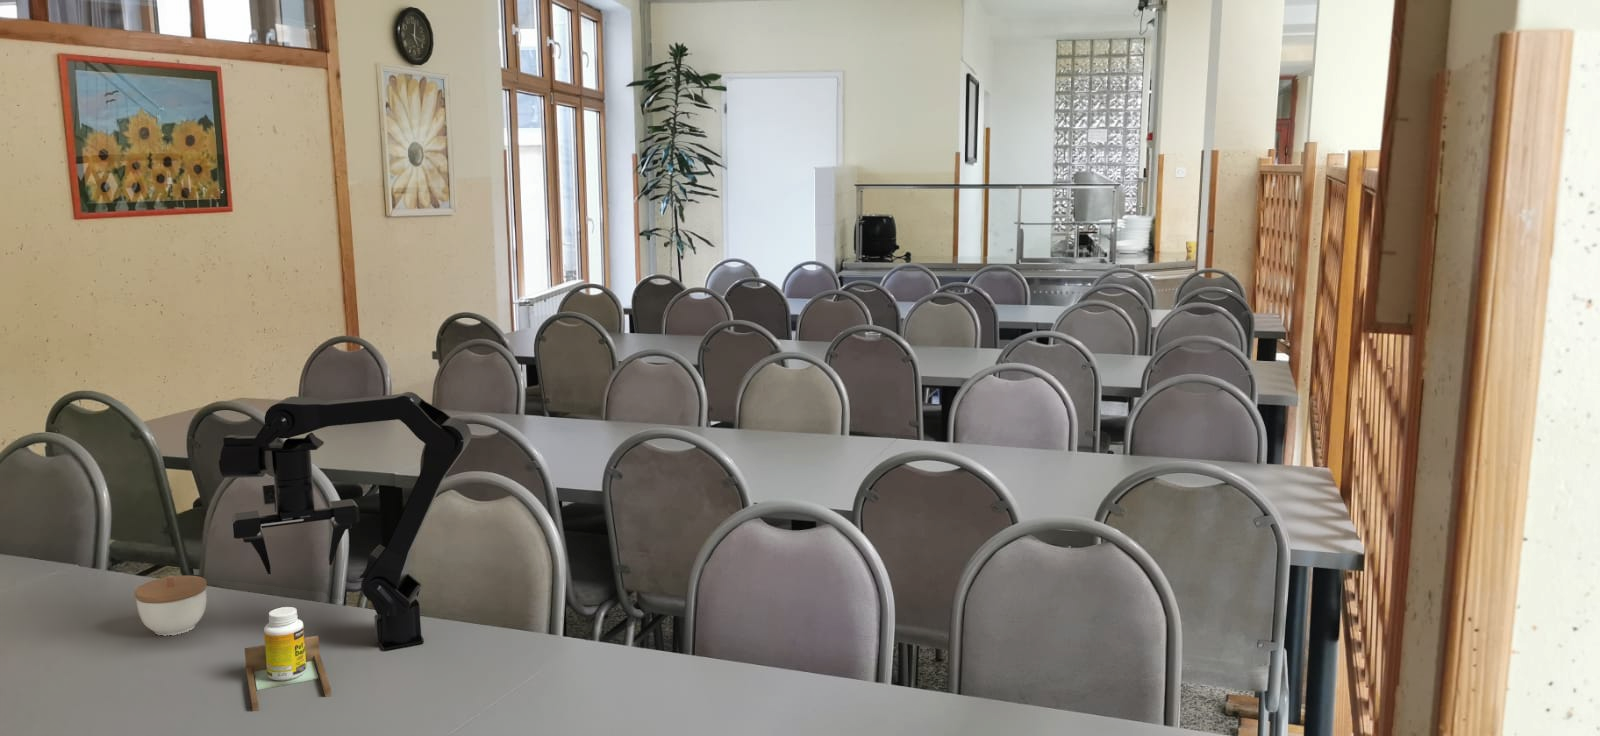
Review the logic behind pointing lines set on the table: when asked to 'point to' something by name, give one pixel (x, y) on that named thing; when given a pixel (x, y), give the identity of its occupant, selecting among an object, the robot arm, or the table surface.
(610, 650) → the table surface
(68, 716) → the table surface
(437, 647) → the table surface
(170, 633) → the lidded jar
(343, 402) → the robot arm
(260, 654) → the bay
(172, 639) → the table surface
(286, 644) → the supplement bottle
